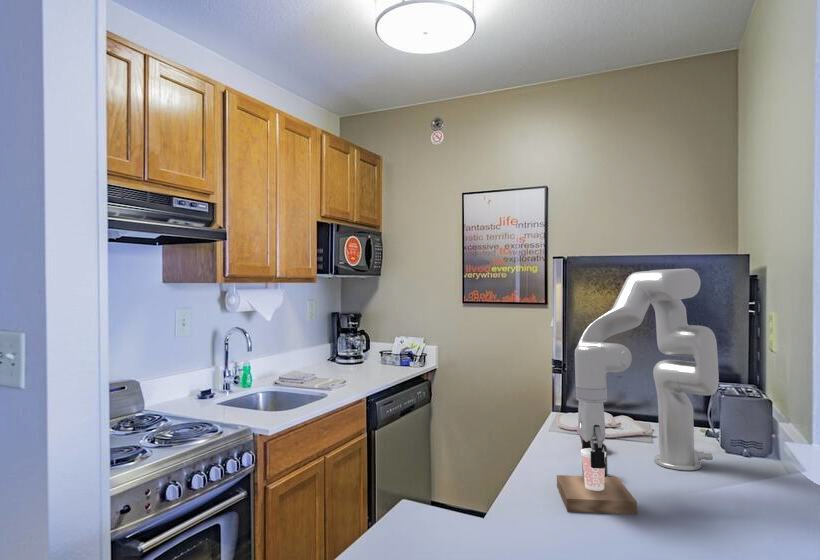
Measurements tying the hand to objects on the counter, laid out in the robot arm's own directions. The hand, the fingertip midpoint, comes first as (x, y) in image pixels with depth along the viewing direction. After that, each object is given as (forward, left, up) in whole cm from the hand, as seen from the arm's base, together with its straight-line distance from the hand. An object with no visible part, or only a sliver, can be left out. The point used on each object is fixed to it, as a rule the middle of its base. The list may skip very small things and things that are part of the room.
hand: (593, 461), depth 126 cm
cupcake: (-8, -41, -10) cm, 43 cm away
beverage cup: (0, 0, -7) cm, 7 cm away
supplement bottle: (-4, -17, -10) cm, 20 cm away
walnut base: (0, 0, -10) cm, 10 cm away
